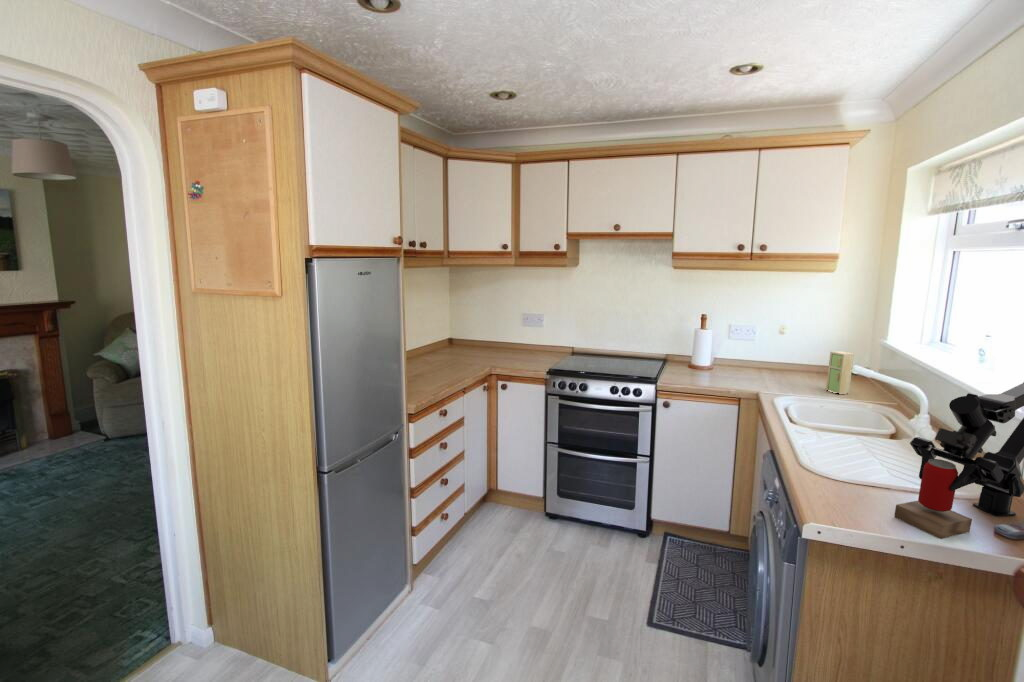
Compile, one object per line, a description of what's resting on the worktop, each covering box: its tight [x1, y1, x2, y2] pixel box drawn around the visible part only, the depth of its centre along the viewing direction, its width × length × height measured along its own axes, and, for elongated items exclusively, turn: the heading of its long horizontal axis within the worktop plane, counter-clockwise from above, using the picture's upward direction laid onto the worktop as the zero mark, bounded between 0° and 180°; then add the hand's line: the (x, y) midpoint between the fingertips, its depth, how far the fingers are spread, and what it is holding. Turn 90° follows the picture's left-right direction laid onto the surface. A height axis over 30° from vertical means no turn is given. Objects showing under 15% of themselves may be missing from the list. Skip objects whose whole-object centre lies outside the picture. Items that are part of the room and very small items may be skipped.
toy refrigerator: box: [825, 350, 855, 393], centre depth 261 cm, size 8×7×21 cm
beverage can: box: [917, 458, 959, 512], centre depth 131 cm, size 7×7×12 cm
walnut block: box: [893, 500, 973, 540], centre depth 132 cm, size 11×11×4 cm
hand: (934, 483), depth 130 cm, fingers closed on beverage can, 7 cm apart
